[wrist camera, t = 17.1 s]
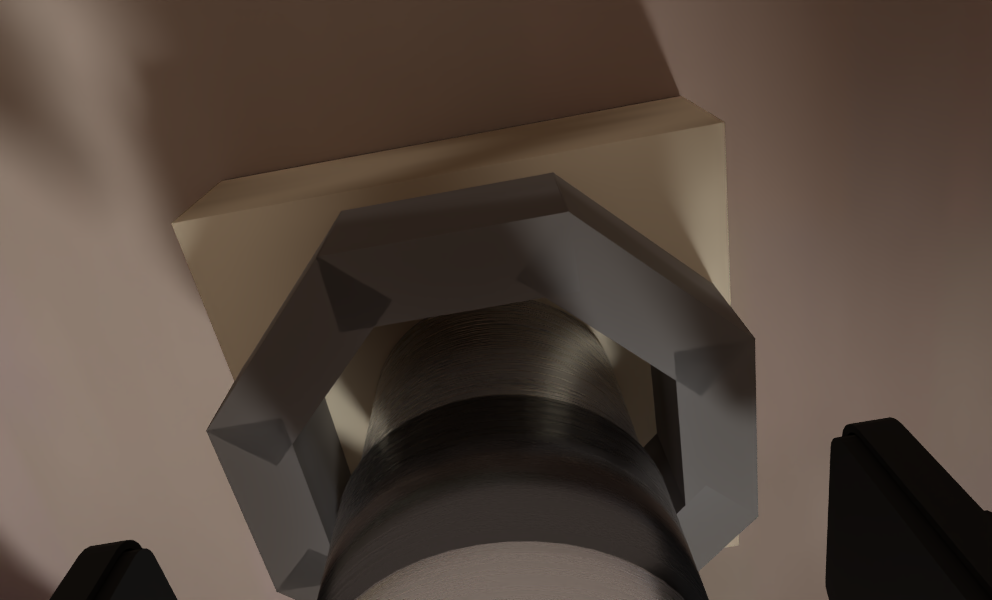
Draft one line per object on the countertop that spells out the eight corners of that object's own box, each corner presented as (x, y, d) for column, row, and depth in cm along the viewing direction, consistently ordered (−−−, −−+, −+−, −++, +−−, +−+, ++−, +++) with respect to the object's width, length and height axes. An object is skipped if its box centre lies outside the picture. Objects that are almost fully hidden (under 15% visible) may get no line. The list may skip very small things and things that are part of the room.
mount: (681, 96, 13) (774, 153, 9) (703, 468, 17) (776, 625, 13) (221, 181, 14) (114, 271, 10) (344, 525, 17) (306, 695, 13)
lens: (611, 266, 12) (840, 751, 5) (636, 483, 14) (820, 1059, 7) (337, 314, 12) (131, 851, 5) (402, 521, 14) (327, 1118, 7)
